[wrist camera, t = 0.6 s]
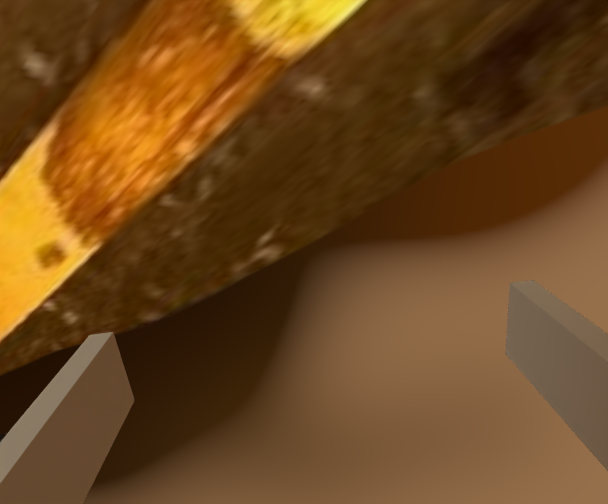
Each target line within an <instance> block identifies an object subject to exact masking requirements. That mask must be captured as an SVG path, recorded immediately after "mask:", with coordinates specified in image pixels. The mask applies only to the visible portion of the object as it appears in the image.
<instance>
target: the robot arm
mask: <svg viewBox="0 0 608 504" xmlns="http://www.w3.org/2000/svg"><path fill="white" fill-rule="evenodd" d="M506 355H507V356H508V357H509V359H510V360H511V361H512V362H513V363H514V364H515V365H516V367H517V368H518V369H519V370H520V371H521V372H522V373H523V375H524V376H525V377H526V378H527V379H528V380H529V381H530V383H531V384H532V385H533V386H534V387H535V388H536V389H537V391H538V392H539V393H540V394H541V395H542V396H543V397H544V398H545V400H546V401H547V402H548V403H549V404H550V405H551V407H552V408H553V409H554V410H555V411H556V412H557V413H558V414H559V416H560V417H561V418H562V419H563V420H564V421H565V423H566V424H567V425H568V426H569V427H570V428H571V429H572V431H573V432H574V433H575V434H576V435H577V436H578V437H579V439H580V440H581V441H582V442H583V443H584V444H585V445H586V446H587V448H588V449H589V450H590V451H591V452H592V453H593V455H594V456H595V457H596V458H597V459H598V460H599V461H600V463H601V464H602V465H603V466H604V467H605V468H606V469H607V470H608V334H607V333H606V332H604V331H603V330H602V329H600V328H599V327H598V326H596V325H595V324H594V323H592V322H591V321H589V320H588V319H587V318H585V317H584V316H582V315H581V314H580V313H578V312H577V311H575V310H574V309H573V308H571V307H570V306H568V305H567V304H566V303H564V302H563V301H562V300H560V299H559V298H557V297H556V296H555V295H553V294H552V293H550V292H549V291H548V290H546V289H545V288H543V287H542V286H541V285H539V284H538V283H536V282H535V281H533V280H531V281H522V282H514V283H510V291H509V306H508V323H507V339H506ZM133 402H134V397H133V394H132V391H131V388H130V384H129V381H128V378H127V375H126V372H125V369H124V365H123V363H122V359H121V356H120V353H119V350H118V347H117V343H116V340H115V337H114V334H113V332H111V333H103V334H95V335H89V337H88V338H87V339H86V340H85V341H84V343H83V344H82V345H81V346H80V347H79V349H78V350H77V351H76V352H75V353H74V355H73V356H72V357H71V358H70V359H69V361H68V362H67V363H66V364H65V366H64V367H63V368H62V369H61V370H60V371H59V373H58V374H57V375H56V376H55V377H54V379H53V380H52V381H51V382H50V383H49V385H48V386H47V387H46V388H45V389H44V390H43V392H42V393H41V394H40V395H39V397H38V398H37V399H36V400H35V401H34V402H33V404H32V405H31V406H30V407H29V408H28V410H27V411H26V412H25V413H24V414H23V416H22V417H21V418H20V419H19V421H18V422H17V423H16V424H15V425H14V426H13V428H12V429H11V430H10V431H9V432H8V434H1V435H0V504H82V503H83V501H84V499H85V497H86V495H87V493H88V492H89V490H90V488H91V486H92V484H93V482H94V480H95V478H96V476H97V474H98V472H99V470H100V467H101V466H102V464H103V462H104V459H105V458H106V456H107V454H108V452H109V450H110V448H111V446H112V444H113V442H114V440H115V438H116V436H117V434H118V432H119V430H120V428H121V426H122V424H123V422H124V420H125V418H126V416H127V414H128V412H129V410H130V408H131V406H132V404H133Z"/></svg>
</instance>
